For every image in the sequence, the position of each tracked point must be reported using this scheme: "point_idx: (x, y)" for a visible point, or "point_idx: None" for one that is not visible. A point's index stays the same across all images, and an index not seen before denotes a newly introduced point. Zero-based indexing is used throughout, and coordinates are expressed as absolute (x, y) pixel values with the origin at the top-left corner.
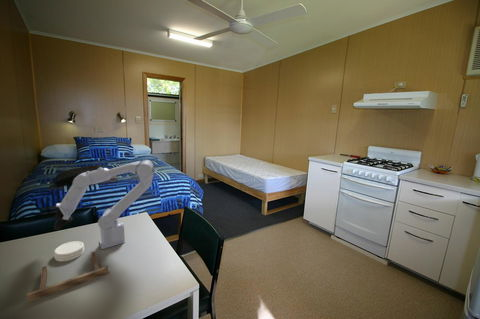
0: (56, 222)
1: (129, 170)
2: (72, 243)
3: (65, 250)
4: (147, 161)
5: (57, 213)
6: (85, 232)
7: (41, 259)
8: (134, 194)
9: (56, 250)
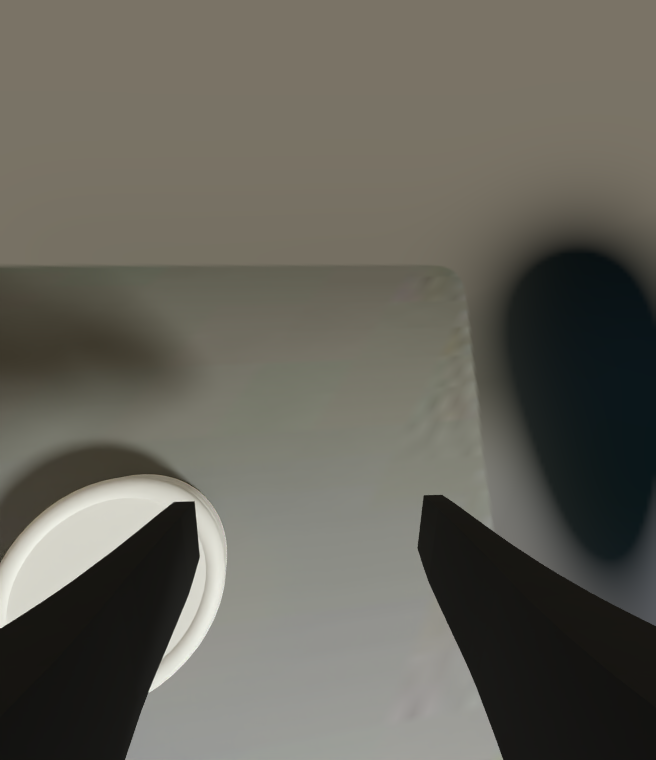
0: (4, 627)
1: None
2: None
3: (76, 562)
4: None
5: (475, 567)
6: (408, 635)
7: (183, 405)
8: None
9: (124, 494)
